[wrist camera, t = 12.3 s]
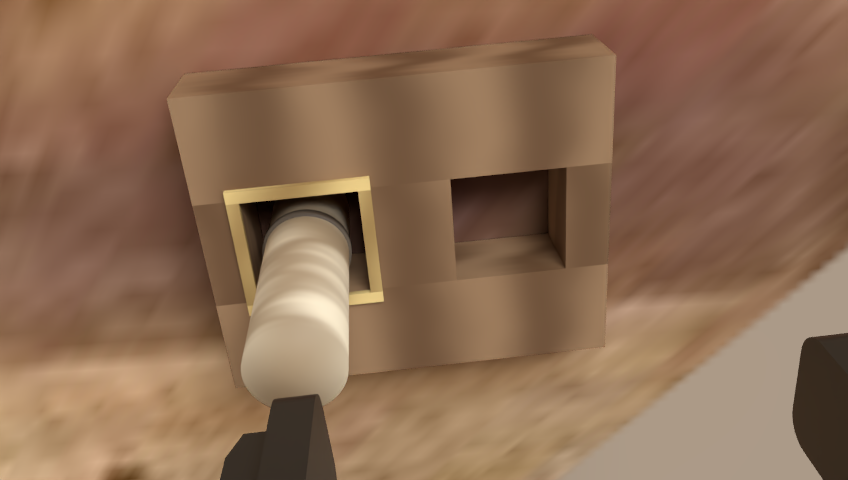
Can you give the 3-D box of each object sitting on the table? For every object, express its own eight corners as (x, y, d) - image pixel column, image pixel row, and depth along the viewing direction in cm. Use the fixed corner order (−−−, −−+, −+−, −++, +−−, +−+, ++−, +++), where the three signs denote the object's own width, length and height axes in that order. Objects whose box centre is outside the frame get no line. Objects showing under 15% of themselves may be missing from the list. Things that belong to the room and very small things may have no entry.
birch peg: (346, 169, 41) (344, 317, 28) (355, 241, 43) (357, 407, 30) (265, 178, 41) (227, 329, 28) (278, 249, 43) (248, 420, 30)
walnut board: (592, 34, 38) (618, 56, 35) (585, 307, 46) (606, 350, 42) (184, 74, 38) (165, 101, 34) (244, 344, 45) (234, 391, 41)
